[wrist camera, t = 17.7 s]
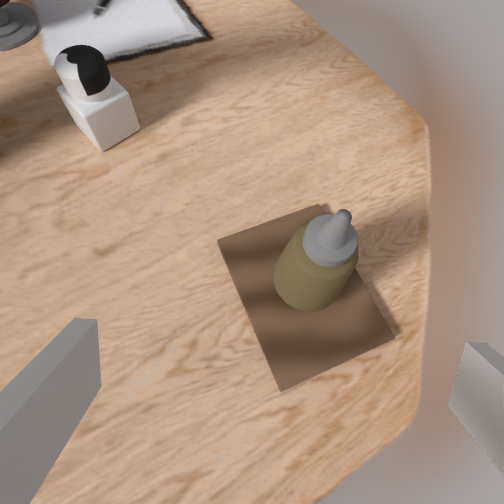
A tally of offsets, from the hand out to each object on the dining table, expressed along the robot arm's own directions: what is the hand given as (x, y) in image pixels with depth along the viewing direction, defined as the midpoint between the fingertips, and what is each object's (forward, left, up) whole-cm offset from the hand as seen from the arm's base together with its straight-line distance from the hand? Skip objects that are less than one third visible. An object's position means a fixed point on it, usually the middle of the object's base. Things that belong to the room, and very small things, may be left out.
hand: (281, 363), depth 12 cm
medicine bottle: (-43, -5, -30) cm, 53 cm away
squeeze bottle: (-8, +11, -28) cm, 31 cm away
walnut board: (-8, +11, -29) cm, 32 cm away
